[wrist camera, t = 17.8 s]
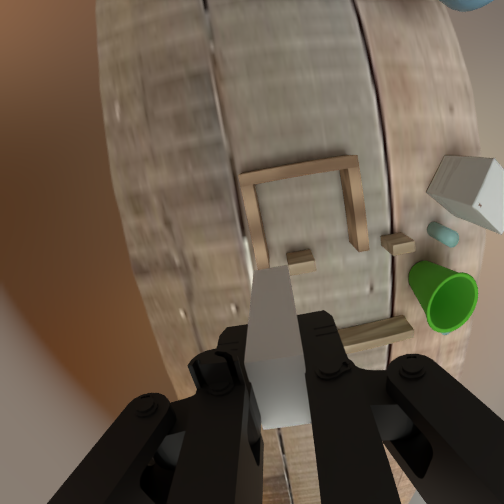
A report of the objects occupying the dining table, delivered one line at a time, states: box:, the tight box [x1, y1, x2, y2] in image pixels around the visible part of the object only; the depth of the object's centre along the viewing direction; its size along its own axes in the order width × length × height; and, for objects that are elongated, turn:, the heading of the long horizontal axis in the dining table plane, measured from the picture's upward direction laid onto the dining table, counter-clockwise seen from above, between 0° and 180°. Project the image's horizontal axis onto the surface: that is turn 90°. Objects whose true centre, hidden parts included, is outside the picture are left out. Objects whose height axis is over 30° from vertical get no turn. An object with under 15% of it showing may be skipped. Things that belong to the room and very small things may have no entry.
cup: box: [409, 261, 478, 333], centre depth 40 cm, size 9×9×11 cm
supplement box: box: [426, 155, 504, 234], centre depth 35 cm, size 7×7×13 cm
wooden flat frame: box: [238, 155, 415, 354], centre depth 42 cm, size 28×22×5 cm
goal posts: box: [427, 222, 459, 335], centre depth 42 cm, size 17×2×6 cm, turn 12°
